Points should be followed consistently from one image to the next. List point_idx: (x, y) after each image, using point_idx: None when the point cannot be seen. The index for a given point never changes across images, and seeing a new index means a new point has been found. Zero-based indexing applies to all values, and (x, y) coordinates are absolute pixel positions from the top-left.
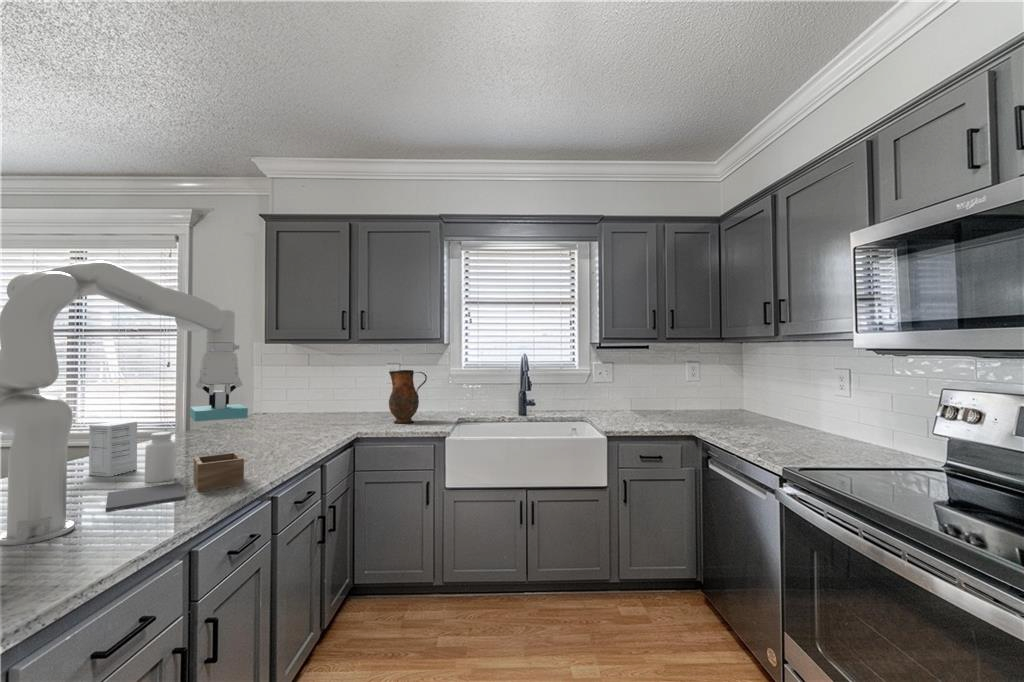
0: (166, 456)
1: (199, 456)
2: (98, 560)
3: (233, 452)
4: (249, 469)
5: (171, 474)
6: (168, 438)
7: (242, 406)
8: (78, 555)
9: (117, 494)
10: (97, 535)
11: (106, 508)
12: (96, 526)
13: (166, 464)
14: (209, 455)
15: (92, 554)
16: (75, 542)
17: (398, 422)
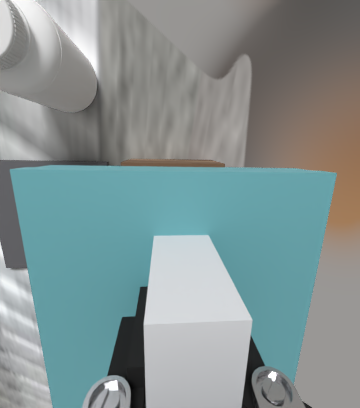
0: (52, 99)
1: (134, 162)
2: None
3: (215, 163)
4: (247, 109)
5: (86, 102)
6: (20, 54)
7: (296, 322)
8: (20, 400)
9: (4, 188)
10: (24, 356)
11: (7, 267)
12: (14, 324)
13: (64, 104)
14: (157, 166)
15: (33, 403)
16: (6, 365)
17: None
